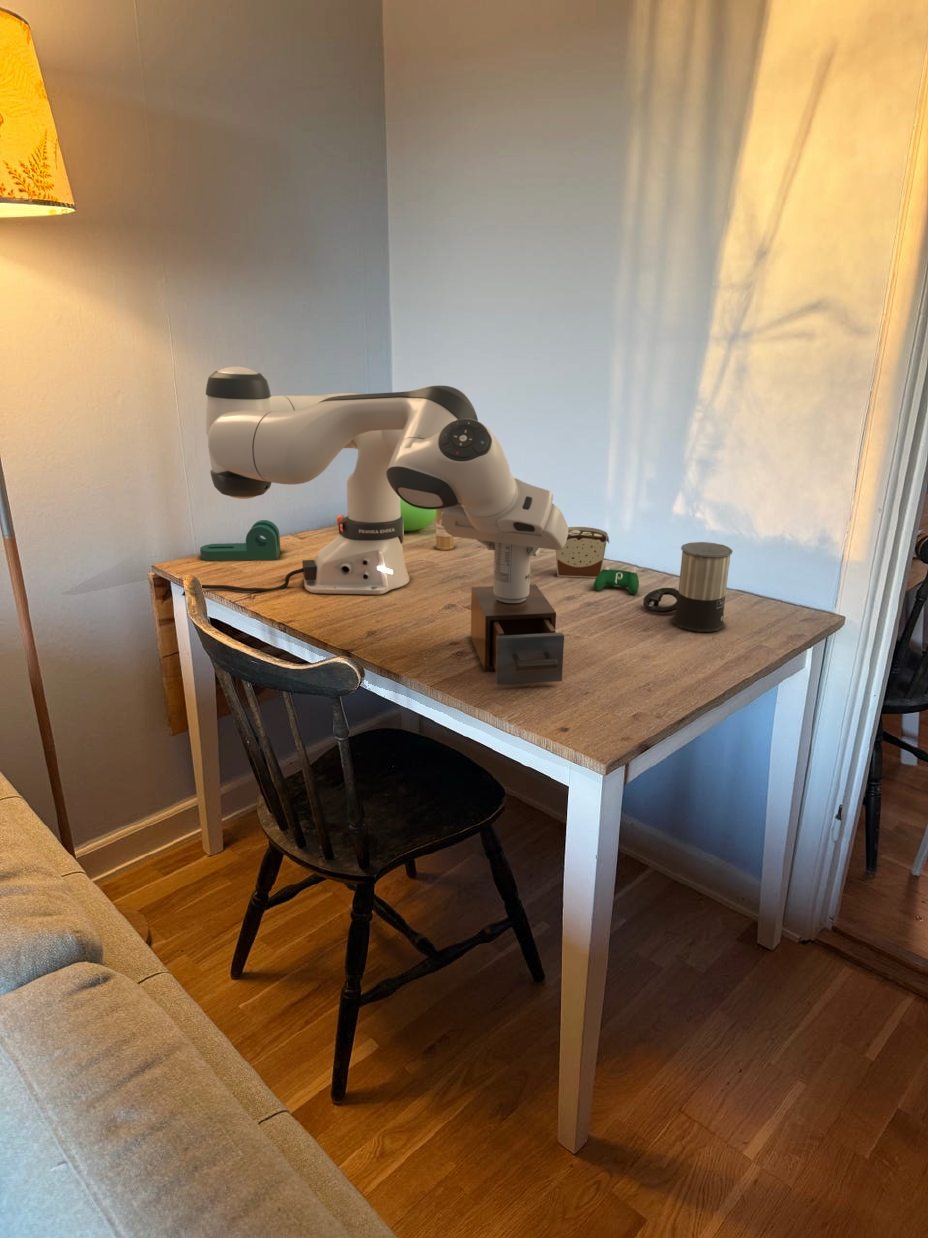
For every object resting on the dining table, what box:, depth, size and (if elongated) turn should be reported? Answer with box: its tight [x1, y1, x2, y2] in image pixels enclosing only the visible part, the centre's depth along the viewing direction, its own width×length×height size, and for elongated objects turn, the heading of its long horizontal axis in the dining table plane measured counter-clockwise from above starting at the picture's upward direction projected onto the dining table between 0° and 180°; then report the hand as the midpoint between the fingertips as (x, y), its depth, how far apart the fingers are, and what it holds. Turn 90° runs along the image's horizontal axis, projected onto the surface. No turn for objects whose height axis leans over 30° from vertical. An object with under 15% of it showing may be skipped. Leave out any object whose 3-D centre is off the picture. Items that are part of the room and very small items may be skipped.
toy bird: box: [400, 498, 436, 532], centre depth 217 cm, size 18×17×15 cm
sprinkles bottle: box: [435, 509, 455, 551], centre depth 201 cm, size 5×5×14 cm
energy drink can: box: [493, 542, 532, 603], centre depth 136 cm, size 6×6×15 cm
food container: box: [555, 526, 610, 579], centre depth 183 cm, size 12×6×10 cm, turn 84°
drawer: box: [490, 618, 565, 686], centre depth 131 cm, size 18×10×8 cm, turn 8°
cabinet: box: [470, 584, 557, 672], centre depth 141 cm, size 15×12×10 cm
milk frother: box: [643, 541, 733, 633], centre depth 156 cm, size 14×16×15 cm
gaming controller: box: [593, 565, 640, 596], centre depth 174 cm, size 9×4×6 cm
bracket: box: [199, 519, 282, 562], centre depth 194 cm, size 18×7×8 cm, turn 94°
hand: (514, 549), depth 136 cm, fingers closed on energy drink can, 6 cm apart
